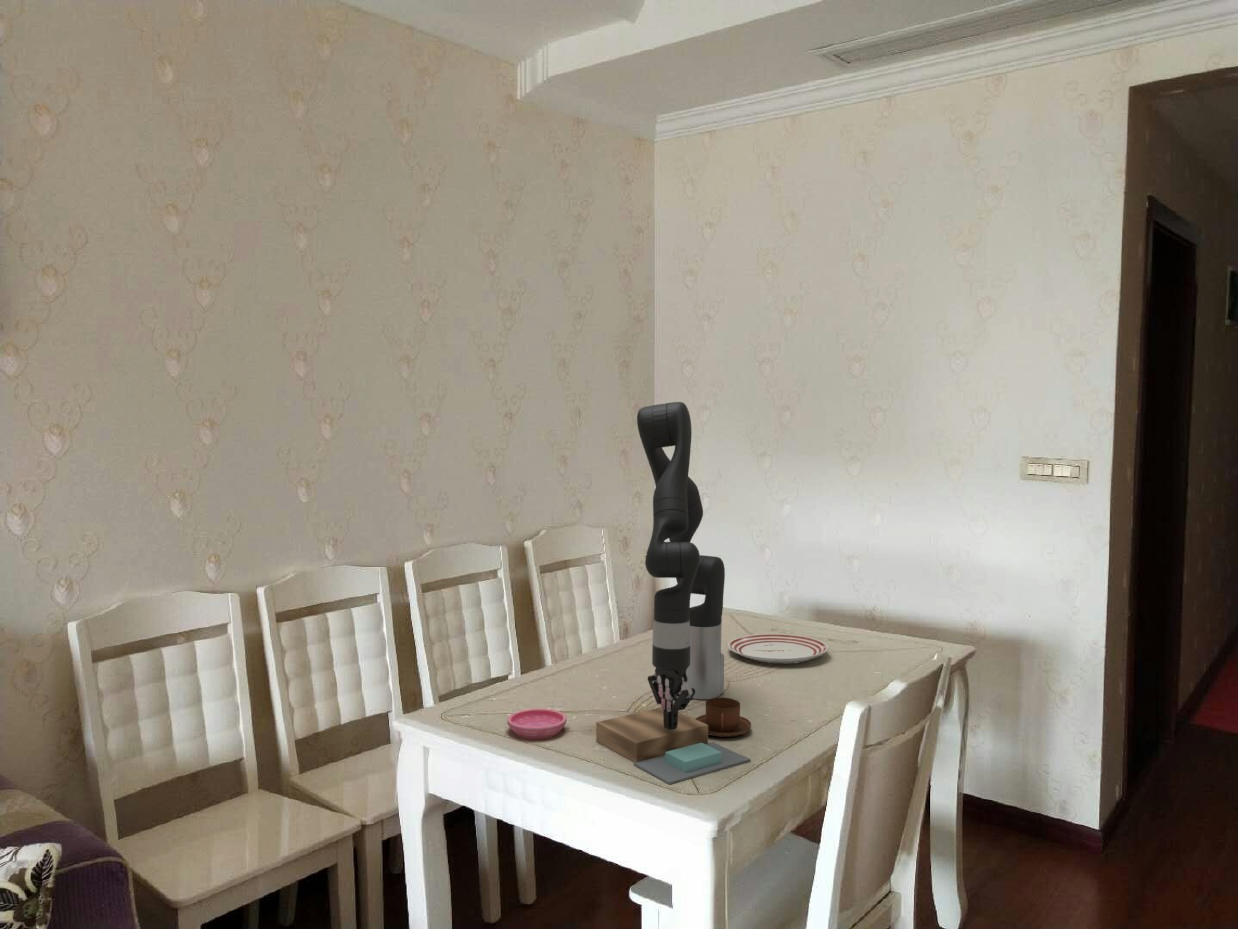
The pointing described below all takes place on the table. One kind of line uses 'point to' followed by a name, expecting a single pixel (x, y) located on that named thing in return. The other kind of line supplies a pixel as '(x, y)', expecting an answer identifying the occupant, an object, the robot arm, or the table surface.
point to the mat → (673, 774)
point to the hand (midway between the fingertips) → (670, 728)
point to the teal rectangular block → (693, 757)
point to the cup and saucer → (724, 718)
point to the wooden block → (649, 734)
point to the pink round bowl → (537, 723)
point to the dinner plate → (778, 647)
